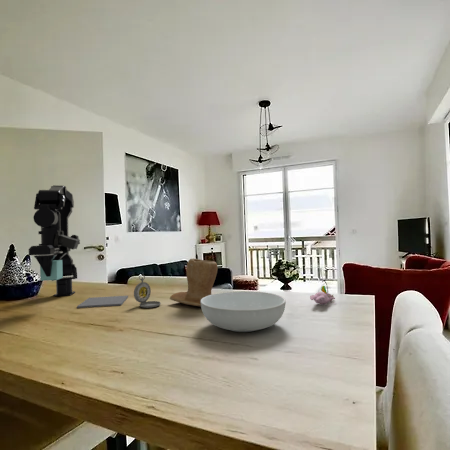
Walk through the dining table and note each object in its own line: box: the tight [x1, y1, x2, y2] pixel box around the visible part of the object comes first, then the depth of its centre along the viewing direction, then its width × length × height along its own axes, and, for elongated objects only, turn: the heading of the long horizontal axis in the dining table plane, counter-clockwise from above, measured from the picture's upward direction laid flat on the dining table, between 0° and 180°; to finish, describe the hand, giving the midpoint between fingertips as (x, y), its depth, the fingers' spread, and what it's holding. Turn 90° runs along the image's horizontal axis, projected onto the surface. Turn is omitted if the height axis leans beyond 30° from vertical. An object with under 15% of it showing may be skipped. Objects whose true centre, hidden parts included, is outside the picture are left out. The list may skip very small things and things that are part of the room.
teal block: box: [39, 260, 64, 282], centre depth 106 cm, size 5×5×6 cm
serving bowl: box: [200, 290, 287, 333], centre depth 80 cm, size 21×21×7 cm
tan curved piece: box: [169, 258, 219, 307], centre depth 106 cm, size 15×12×15 cm
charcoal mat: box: [76, 295, 129, 309], centre depth 114 cm, size 14×14×1 cm
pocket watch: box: [133, 274, 161, 309], centre depth 106 cm, size 8×8×10 cm
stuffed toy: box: [309, 285, 336, 306], centre depth 101 cm, size 6×6×15 cm
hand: (51, 275), depth 106 cm, fingers closed on teal block, 5 cm apart
